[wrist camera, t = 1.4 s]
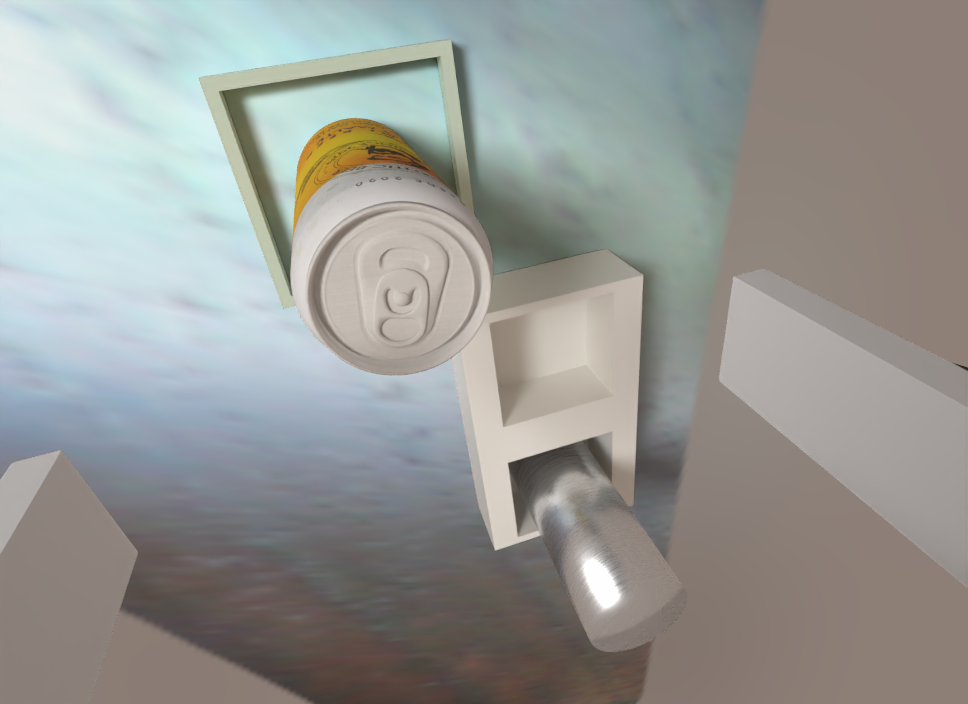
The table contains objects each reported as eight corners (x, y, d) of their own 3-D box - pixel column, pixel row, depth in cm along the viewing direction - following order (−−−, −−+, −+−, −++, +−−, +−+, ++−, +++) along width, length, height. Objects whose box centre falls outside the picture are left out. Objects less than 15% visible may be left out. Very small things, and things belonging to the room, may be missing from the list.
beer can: (421, 123, 27) (520, 196, 15) (412, 239, 30) (489, 383, 17) (295, 108, 25) (285, 178, 13) (298, 234, 28) (293, 390, 16)
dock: (437, 288, 32) (455, 321, 28) (606, 248, 34) (643, 275, 30) (478, 504, 42) (495, 550, 38) (605, 465, 44) (633, 504, 40)
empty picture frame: (202, 76, 24) (198, 78, 23) (446, 39, 25) (451, 39, 25) (283, 301, 30) (283, 308, 29) (476, 257, 31) (481, 263, 31)
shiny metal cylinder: (502, 431, 38) (588, 603, 26) (577, 409, 39) (691, 567, 27) (510, 488, 41) (590, 664, 30) (579, 466, 42) (682, 629, 31)
